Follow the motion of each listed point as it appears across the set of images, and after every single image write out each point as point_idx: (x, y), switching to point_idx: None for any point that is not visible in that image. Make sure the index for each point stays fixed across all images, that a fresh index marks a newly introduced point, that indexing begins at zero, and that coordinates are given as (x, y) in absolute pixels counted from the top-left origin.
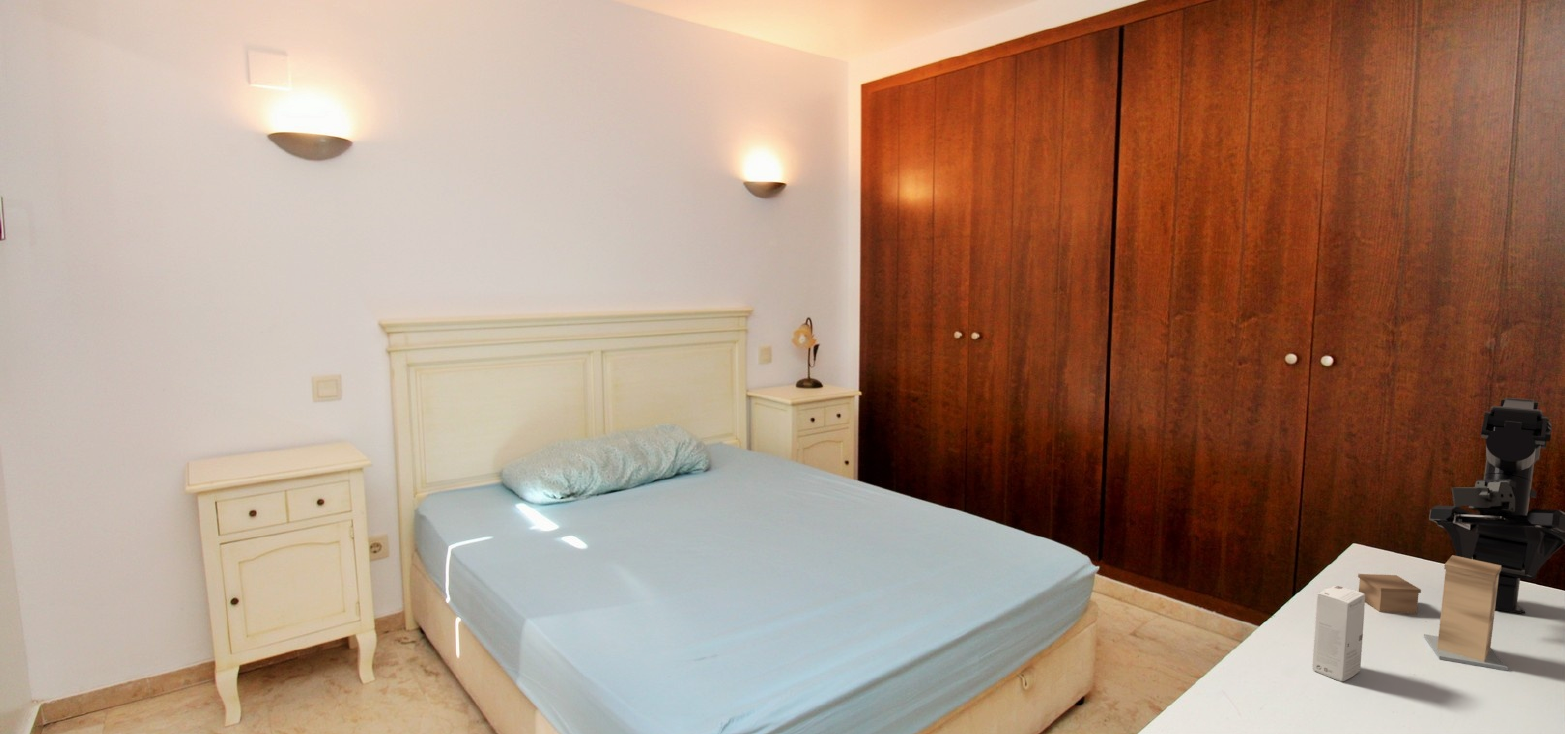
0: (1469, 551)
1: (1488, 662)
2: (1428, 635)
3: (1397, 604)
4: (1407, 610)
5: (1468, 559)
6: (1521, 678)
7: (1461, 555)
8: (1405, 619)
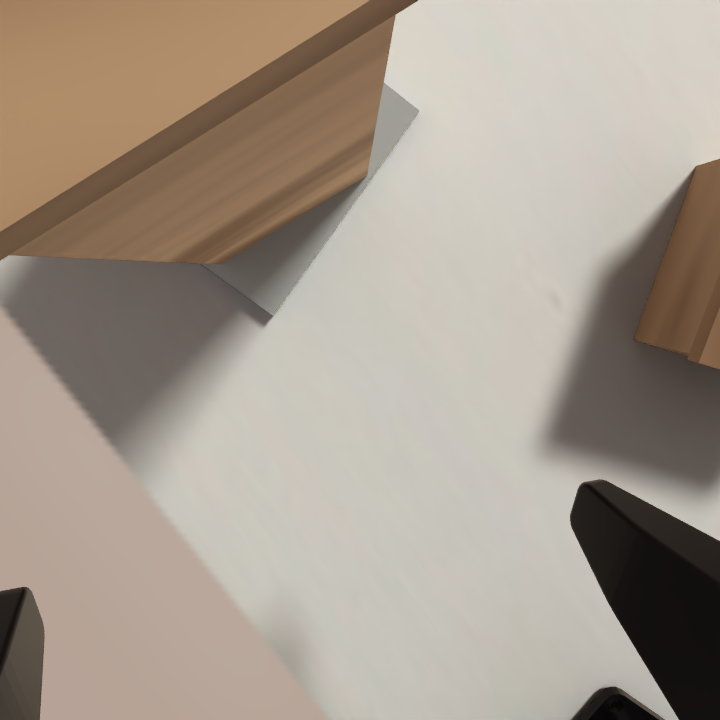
0: (700, 690)
1: None
2: (401, 117)
3: (690, 245)
4: (655, 299)
5: (222, 31)
6: None
7: (668, 543)
8: (593, 217)
